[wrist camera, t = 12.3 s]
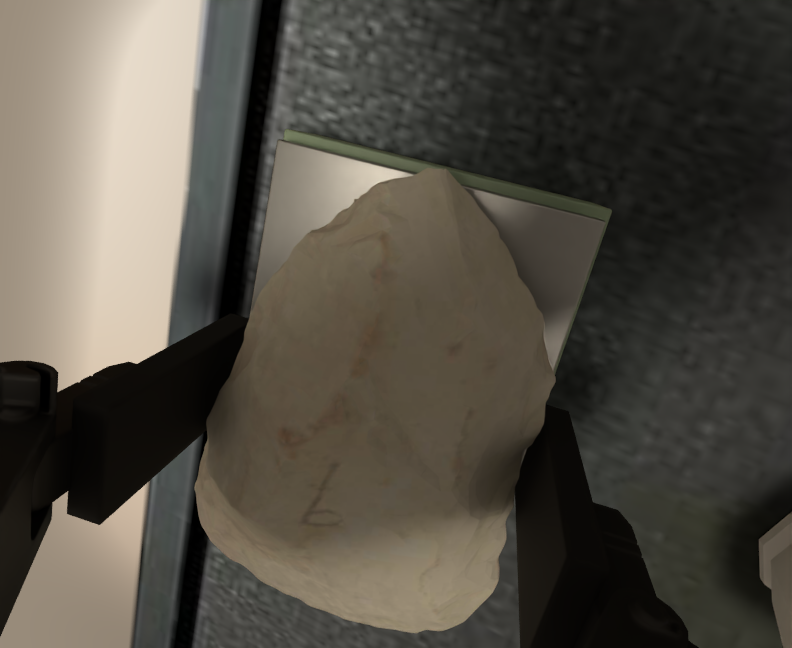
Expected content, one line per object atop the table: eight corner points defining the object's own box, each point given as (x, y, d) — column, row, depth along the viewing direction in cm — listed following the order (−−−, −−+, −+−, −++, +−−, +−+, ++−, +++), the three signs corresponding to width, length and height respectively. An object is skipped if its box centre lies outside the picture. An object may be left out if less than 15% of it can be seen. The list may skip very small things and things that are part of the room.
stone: (211, 501, 19) (115, 612, 15) (330, 116, 15) (246, 95, 10) (459, 616, 19) (441, 771, 14) (660, 248, 14) (735, 292, 9)
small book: (304, 131, 20) (255, 122, 16) (595, 203, 19) (622, 213, 15) (247, 465, 24) (197, 524, 20) (481, 539, 23) (477, 617, 19)
